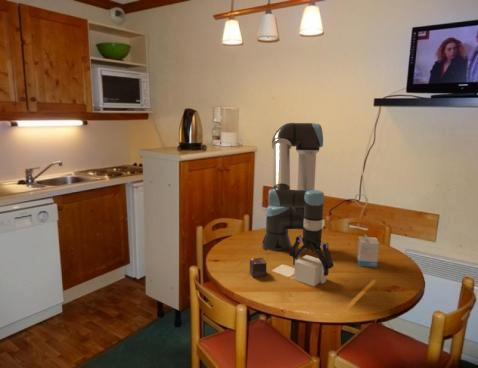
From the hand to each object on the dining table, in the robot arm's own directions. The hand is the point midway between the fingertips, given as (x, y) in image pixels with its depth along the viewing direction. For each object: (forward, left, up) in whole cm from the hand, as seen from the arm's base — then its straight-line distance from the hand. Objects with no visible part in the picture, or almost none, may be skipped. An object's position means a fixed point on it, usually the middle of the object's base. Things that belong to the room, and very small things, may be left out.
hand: (309, 277), depth 145 cm
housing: (0, 0, -1) cm, 1 cm away
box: (-19, -11, -2) cm, 22 cm away
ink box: (+11, +35, -2) cm, 37 cm away
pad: (-12, 0, -1) cm, 12 cm away
